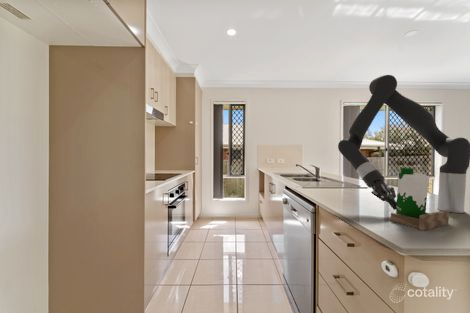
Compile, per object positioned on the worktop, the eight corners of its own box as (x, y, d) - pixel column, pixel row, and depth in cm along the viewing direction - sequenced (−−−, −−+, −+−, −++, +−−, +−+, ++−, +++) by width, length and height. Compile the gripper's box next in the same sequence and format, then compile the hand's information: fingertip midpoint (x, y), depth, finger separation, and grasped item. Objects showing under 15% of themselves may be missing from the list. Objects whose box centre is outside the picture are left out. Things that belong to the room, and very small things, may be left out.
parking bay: (413, 216, 104) (414, 204, 104) (448, 224, 94) (449, 210, 93) (387, 221, 95) (388, 208, 95) (422, 230, 85) (423, 216, 85)
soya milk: (392, 215, 103) (396, 166, 101) (418, 217, 100) (422, 167, 99) (400, 222, 94) (404, 169, 93) (429, 225, 92) (433, 170, 90)
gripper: (366, 169, 105) (395, 204, 95) (385, 168, 112) (414, 201, 101) (354, 180, 110) (380, 215, 100) (373, 179, 117) (399, 211, 106)
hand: (397, 208), depth 101 cm, fingers closed
